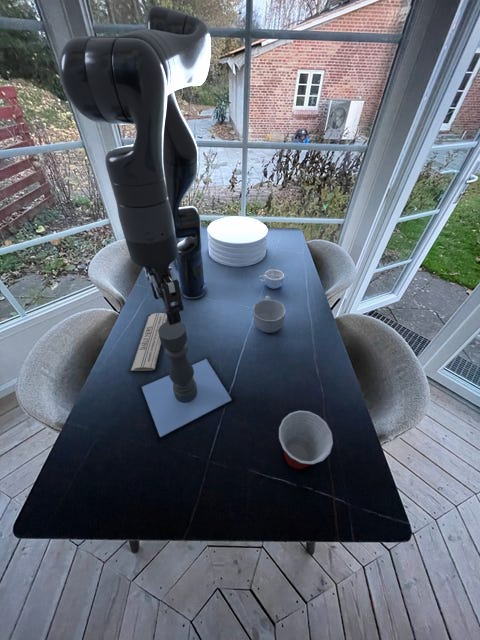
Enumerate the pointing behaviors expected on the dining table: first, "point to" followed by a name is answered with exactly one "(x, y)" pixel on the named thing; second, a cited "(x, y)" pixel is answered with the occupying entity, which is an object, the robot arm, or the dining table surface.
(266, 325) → the teacup
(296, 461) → the plastic cup
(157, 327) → the newspaper
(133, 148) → the robot arm
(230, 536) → the dining table surface
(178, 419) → the cloth
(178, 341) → the candle holder
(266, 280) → the teacup
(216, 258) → the plate stack
